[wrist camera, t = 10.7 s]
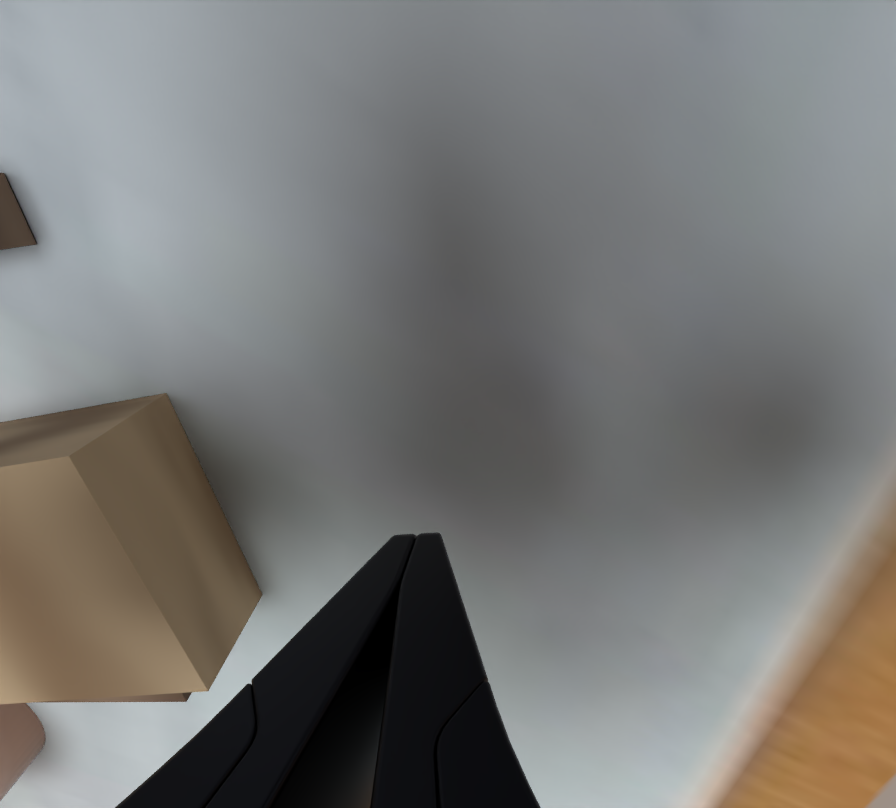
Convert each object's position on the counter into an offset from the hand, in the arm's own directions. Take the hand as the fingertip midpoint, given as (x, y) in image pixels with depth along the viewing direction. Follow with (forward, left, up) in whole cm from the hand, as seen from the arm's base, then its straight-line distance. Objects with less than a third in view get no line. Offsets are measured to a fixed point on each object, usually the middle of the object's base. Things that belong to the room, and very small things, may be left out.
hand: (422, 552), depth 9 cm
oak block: (+10, +2, -4) cm, 11 cm away
